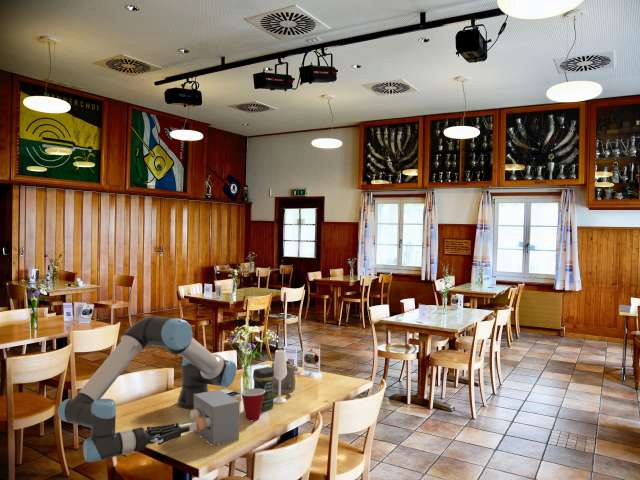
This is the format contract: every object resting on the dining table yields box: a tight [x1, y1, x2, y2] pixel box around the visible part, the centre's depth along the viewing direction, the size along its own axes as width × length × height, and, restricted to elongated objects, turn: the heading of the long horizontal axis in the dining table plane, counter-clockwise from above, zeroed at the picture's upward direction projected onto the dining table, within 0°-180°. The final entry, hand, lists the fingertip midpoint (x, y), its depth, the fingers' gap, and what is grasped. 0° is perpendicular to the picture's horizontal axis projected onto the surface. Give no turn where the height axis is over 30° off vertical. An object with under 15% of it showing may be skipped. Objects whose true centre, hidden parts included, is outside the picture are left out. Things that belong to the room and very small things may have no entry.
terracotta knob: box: [194, 416, 211, 432], centre depth 192 cm, size 5×11×5 cm, turn 128°
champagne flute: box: [273, 349, 287, 404], centre depth 241 cm, size 7×7×24 cm
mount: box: [193, 389, 241, 447], centre depth 198 cm, size 18×11×15 cm, turn 38°
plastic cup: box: [240, 388, 265, 422], centre depth 217 cm, size 11×11×12 cm
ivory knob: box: [189, 409, 201, 423], centre depth 200 cm, size 5×11×5 cm, turn 128°
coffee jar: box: [252, 366, 274, 412], centre depth 230 cm, size 10×8×19 cm
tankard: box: [271, 360, 299, 395], centre depth 255 cm, size 20×13×15 cm, turn 33°
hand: (196, 425), depth 188 cm, fingers closed
